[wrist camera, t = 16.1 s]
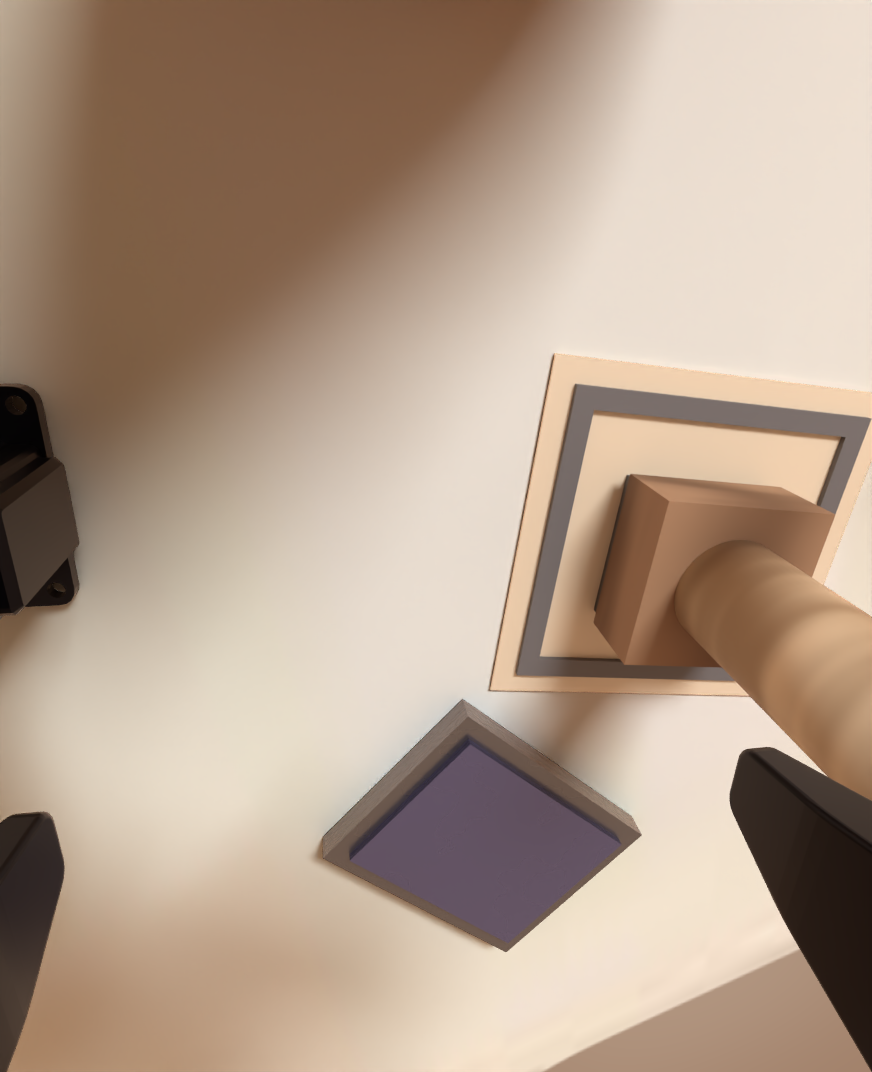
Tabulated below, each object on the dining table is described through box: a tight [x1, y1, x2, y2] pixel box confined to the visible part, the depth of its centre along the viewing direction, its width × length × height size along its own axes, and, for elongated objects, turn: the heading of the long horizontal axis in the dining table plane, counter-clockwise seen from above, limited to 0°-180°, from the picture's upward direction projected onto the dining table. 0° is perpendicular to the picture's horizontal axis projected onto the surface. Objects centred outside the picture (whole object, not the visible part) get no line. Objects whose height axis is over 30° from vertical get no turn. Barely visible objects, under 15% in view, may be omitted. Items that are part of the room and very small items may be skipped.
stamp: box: [593, 474, 872, 801], centre depth 17 cm, size 5×5×12 cm
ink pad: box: [323, 699, 642, 952], centre depth 26 cm, size 10×8×1 cm
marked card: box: [490, 353, 872, 696], centre depth 23 cm, size 12×12×1 cm
